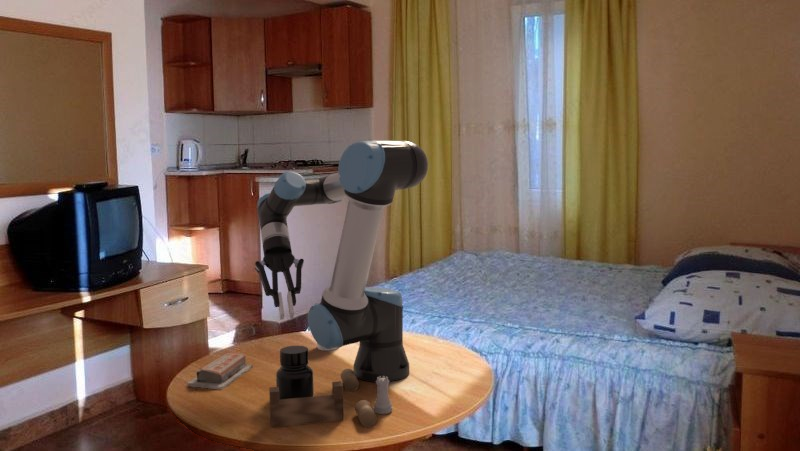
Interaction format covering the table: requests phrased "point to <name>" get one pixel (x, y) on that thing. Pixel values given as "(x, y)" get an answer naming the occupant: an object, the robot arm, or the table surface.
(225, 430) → the table surface
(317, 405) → the rail
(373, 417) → the roller
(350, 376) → the roller
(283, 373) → the ink bottle
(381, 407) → the rook chess piece
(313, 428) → the table surface
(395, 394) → the table surface
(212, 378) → the packaged product
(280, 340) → the table surface
